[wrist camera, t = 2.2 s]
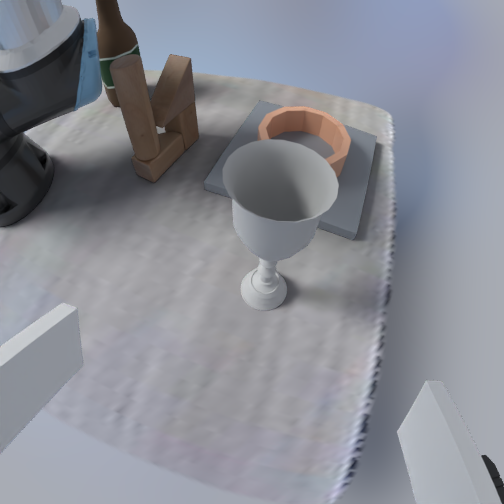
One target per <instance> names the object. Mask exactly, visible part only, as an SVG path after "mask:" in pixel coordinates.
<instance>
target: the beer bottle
mask: <svg viewBox="0 0 504 504" xmlns="http://www.w3.org/2000/svg"><path fill="white" fill-rule="evenodd" d="M96 5H97V13H98V20H99V29H98V32H97V41H98V51H99V61H100V70H101V77H102V80H103V84H104V87H105V90H106V93H107V96H108V99H109V101H110V102H111V103H112V104H113V106H114V107H120V104H119V101H118V97H117V94H116V90H115V87H114V83H113V80H112V76H111V72H110V64H111V63H112V62H113V61H114V60H116V59H118V58H120V57H122V56H125V55H131V54H136V55H139V56H140V52H139V47H138V42H137V38H136V35H135V33H134V32H133V30H132V29H131V28H130V27H129V26H128V25H127V24H126V23H124V22H123V19H122V17H121V15H120V11H119V7H118V3H117V0H96Z"/></svg>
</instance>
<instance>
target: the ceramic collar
mask: <svg viewBox="0 0 504 504" xmlns="http://www.w3.org/2000/svg"><path fill="white" fill-rule="evenodd" d="M290 131H303V132H306V133H310V134H313V135H316V136H319V137H320V138H322V139H323V140H324V141H325V142H327V143H328V144H329V145H331V146H332V148H333V150H334V153H335V154H334V155H332V156H330V157H328V158H327V159H325V160H326V161H327V162H328V163H329V165H330V166H331V167H332V169H333V170H334V171H335V174H336V177H338V176H340V174H341V171H342V168H343V165H344V162H345V160H346V157H347V153H348V150H349V146H350V143H351V139H350V137H349V135H348V133H347V131H346V129H345V127H344V125H343V124H342V123H340V122H339V121H337V120H336V119H335V118H333V117H332V116H330V115H329V114H328V113H326V112H322V111H319V110H316V109H312V108H309V107H305V106H302V107H282V108H280V109H277V110H275V111H273V112H270V113H268V114H266V116H265V117H264V119H263V120H262V122H261V123H260V125H259V127H258V140H257V141H260V140H266V139H271V138H272V137H275V136H277V135H279V134H281V133H283V132H290Z"/></svg>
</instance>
